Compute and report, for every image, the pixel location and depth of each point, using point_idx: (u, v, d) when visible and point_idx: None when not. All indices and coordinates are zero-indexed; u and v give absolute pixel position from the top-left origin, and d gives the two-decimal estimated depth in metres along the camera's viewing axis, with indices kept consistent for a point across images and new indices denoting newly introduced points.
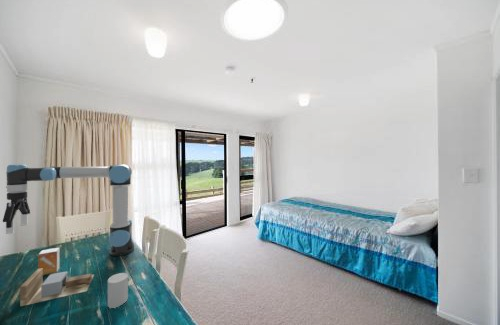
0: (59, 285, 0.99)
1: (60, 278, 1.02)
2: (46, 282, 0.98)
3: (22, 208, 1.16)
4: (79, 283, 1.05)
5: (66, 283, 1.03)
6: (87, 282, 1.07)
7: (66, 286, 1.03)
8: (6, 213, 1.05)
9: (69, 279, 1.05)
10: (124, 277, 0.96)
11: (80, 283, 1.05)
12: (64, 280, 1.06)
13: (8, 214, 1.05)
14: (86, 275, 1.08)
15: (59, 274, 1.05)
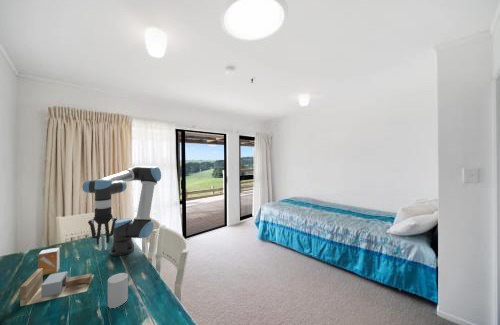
0: (59, 285, 0.99)
1: (60, 278, 1.02)
2: (46, 282, 0.98)
3: (105, 227, 1.11)
4: (79, 283, 1.05)
5: (66, 283, 1.03)
6: (87, 282, 1.07)
7: (66, 286, 1.03)
8: None
9: (69, 279, 1.05)
10: (124, 277, 0.96)
11: (80, 283, 1.05)
12: (64, 280, 1.06)
13: None
14: (86, 275, 1.08)
15: (59, 274, 1.05)
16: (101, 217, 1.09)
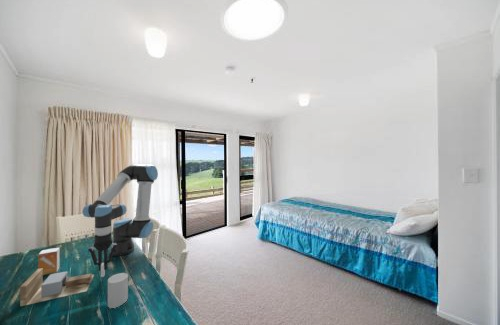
0: (59, 285, 0.99)
1: (60, 278, 1.02)
2: (46, 282, 0.98)
3: (104, 253, 1.11)
4: (79, 283, 1.05)
5: (66, 283, 1.03)
6: (87, 282, 1.07)
7: (66, 286, 1.03)
8: None
9: (69, 279, 1.05)
10: (124, 277, 0.96)
11: (80, 283, 1.05)
12: (64, 280, 1.06)
13: None
14: (86, 275, 1.08)
15: (59, 274, 1.05)
16: (101, 244, 1.10)
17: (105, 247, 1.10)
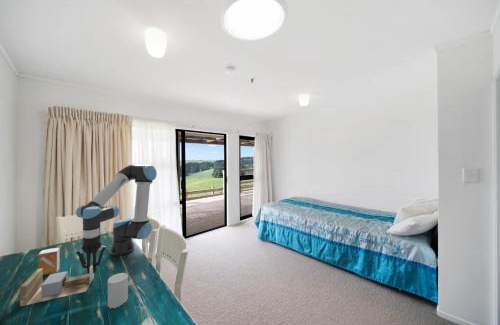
0: (59, 285, 0.99)
1: (60, 278, 1.02)
2: (46, 282, 0.98)
3: (93, 256, 1.09)
4: (78, 283, 1.05)
5: (65, 283, 1.02)
6: (86, 282, 1.06)
7: (65, 286, 1.02)
8: None
9: (68, 279, 1.04)
10: (124, 277, 0.96)
11: (79, 283, 1.05)
12: (64, 280, 1.06)
13: None
14: (85, 275, 1.08)
15: (59, 274, 1.05)
16: (89, 246, 1.07)
17: (94, 250, 1.08)
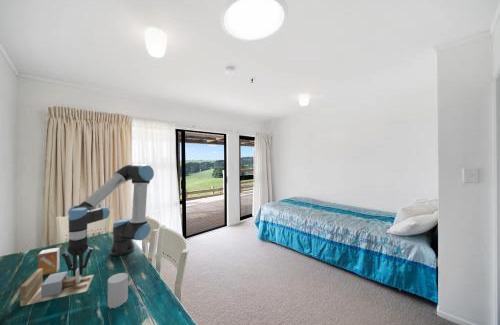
0: (59, 285, 0.99)
1: (60, 278, 1.02)
2: (46, 282, 0.98)
3: None
4: (64, 286, 1.02)
5: None
6: (72, 285, 1.04)
7: None
8: None
9: None
10: (124, 277, 0.96)
11: (65, 286, 1.02)
12: None
13: None
14: (72, 278, 1.06)
15: (59, 274, 1.05)
16: (76, 248, 1.05)
17: (80, 252, 1.05)
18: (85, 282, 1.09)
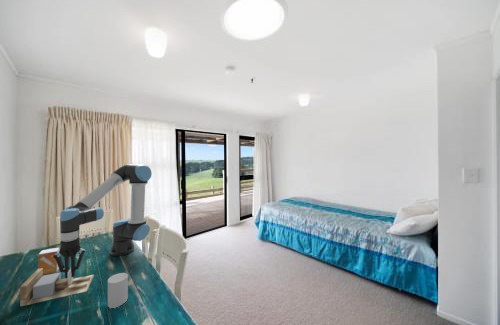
0: (51, 286, 0.98)
1: (52, 279, 1.00)
2: (38, 284, 0.97)
3: None
4: (56, 288, 1.01)
5: None
6: (64, 287, 1.02)
7: None
8: None
9: None
10: (124, 277, 0.96)
11: (57, 288, 1.01)
12: None
13: None
14: (64, 279, 1.04)
15: (52, 275, 1.04)
16: (67, 250, 1.03)
17: (72, 253, 1.03)
18: (85, 282, 1.09)
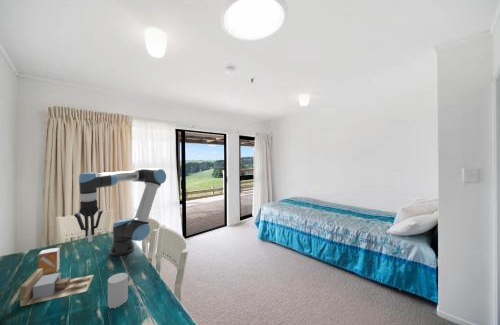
0: (51, 286, 0.98)
1: (52, 279, 1.00)
2: (38, 284, 0.97)
3: None
4: (56, 288, 1.01)
5: None
6: (64, 287, 1.02)
7: None
8: None
9: None
10: (124, 277, 0.96)
11: (57, 288, 1.01)
12: None
13: None
14: (64, 279, 1.04)
15: (52, 275, 1.04)
16: (87, 210, 1.11)
17: (91, 213, 1.12)
18: (85, 282, 1.09)
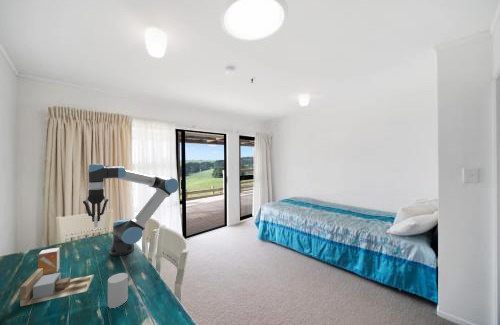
0: (51, 286, 0.98)
1: (52, 279, 1.00)
2: (38, 284, 0.97)
3: None
4: (56, 288, 1.01)
5: None
6: (64, 287, 1.02)
7: None
8: None
9: None
10: (124, 277, 0.96)
11: (57, 288, 1.01)
12: None
13: None
14: (64, 279, 1.04)
15: (52, 275, 1.04)
16: (94, 197, 1.22)
17: (98, 200, 1.22)
18: (85, 282, 1.09)
